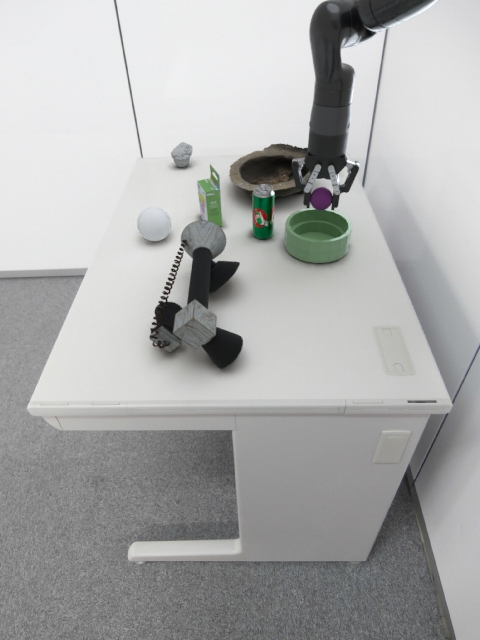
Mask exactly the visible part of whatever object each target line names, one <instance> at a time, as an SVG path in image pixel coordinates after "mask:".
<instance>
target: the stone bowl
mask: <svg viewBox="0 0 480 640" xmlns="http://www.w3.org/2000/svg"><path fill="white" fill-rule="evenodd" d="M307 151H308V147H299V146H296V145H292V144H288V143H272V144H270V145H269V146H268V147H267V146H266V147H264V148H263V149H262V150H254V151H252V152H251V153H248V154H245V155H243V156H242V157H239V158H238V159H237V160H235V161H233V163H231V165H230V166H229V171H228V173H229V179H230V181H231V183H233V184H234V185H236V186H237V187H239V188H242V189H244V190H245V191H246V193H248V195H249V196H251V197H252V193H253V191H254V188H255V186H257V185H261V184H266V185H270V186H272V187H273V190H274V192H275V198H282V197H287V196H290V195H293V194H296V193H298V194H304V191H303V190H301V189H297V188H296V185H295V181H294V176H293V171H292V166H291V164H292V160H293V158H295V157H296V158H298V159H300V158H305V156H306V154H307ZM301 175H302V180H303V181H304V182H307V180H308V177H309V175H310V171H309V169H308V168H307V166H306V165H305V164H303V167H302V169H301Z"/></svg>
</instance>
